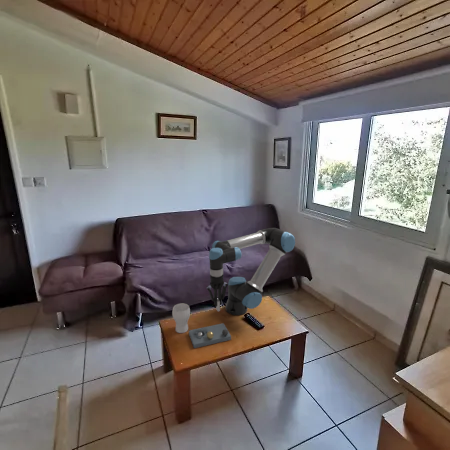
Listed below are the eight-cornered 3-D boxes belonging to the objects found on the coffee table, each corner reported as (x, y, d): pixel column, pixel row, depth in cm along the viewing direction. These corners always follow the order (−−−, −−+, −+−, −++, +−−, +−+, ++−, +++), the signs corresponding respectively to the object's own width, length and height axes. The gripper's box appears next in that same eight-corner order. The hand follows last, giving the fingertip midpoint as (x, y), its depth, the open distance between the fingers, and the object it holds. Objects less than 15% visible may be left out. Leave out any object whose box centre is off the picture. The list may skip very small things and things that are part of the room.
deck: (223, 326, 173) (223, 323, 172) (231, 339, 161) (231, 336, 161) (188, 334, 166) (188, 330, 165) (194, 348, 154) (193, 344, 153)
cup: (187, 335, 164) (186, 313, 160) (170, 333, 166) (169, 311, 162) (192, 325, 174) (192, 303, 170) (176, 322, 176) (176, 301, 172)
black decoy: (226, 332, 164) (226, 327, 163) (228, 336, 160) (228, 331, 160) (221, 333, 162) (221, 328, 162) (223, 337, 159) (223, 332, 158)
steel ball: (201, 336, 165) (202, 331, 164) (203, 339, 161) (204, 334, 161) (196, 336, 163) (197, 331, 163) (197, 339, 160) (198, 334, 160)
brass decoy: (212, 335, 161) (212, 329, 160) (214, 339, 158) (214, 333, 156) (205, 336, 160) (205, 330, 159) (207, 341, 156) (207, 335, 155)
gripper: (224, 269, 166) (225, 304, 172) (203, 273, 161) (205, 309, 168) (229, 274, 159) (230, 310, 166) (207, 279, 154) (209, 316, 161)
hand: (218, 309), depth 167 cm, fingers closed
